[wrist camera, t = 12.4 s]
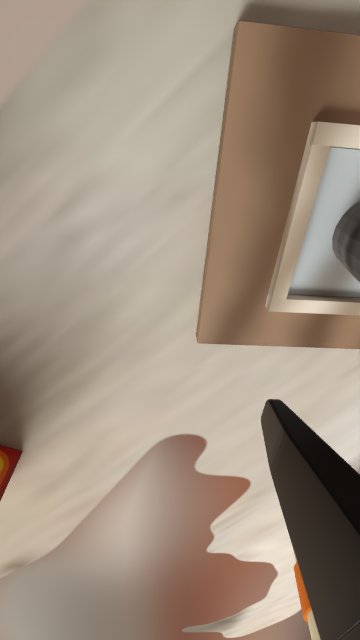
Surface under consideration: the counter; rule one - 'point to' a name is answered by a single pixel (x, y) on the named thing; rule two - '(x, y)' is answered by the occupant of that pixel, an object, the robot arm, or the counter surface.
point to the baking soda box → (7, 466)
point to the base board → (284, 192)
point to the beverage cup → (348, 240)
